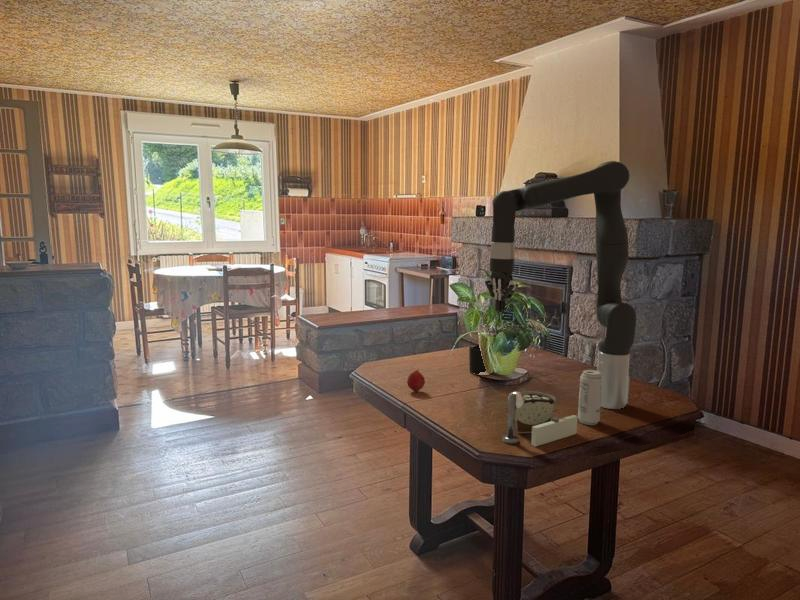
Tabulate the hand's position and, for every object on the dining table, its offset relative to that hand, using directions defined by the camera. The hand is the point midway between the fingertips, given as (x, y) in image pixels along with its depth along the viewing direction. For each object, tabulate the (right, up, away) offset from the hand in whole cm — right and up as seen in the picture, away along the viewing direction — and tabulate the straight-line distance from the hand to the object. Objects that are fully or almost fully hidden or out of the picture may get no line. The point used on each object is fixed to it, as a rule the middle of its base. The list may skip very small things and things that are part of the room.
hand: (500, 311), depth 172 cm
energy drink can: (+23, -32, -13) cm, 42 cm away
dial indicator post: (-2, -34, -27) cm, 43 cm away
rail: (+10, -34, -26) cm, 43 cm away
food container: (+5, -33, -18) cm, 38 cm away
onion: (-26, -27, +12) cm, 40 cm away
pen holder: (-1, -24, +35) cm, 42 cm away
